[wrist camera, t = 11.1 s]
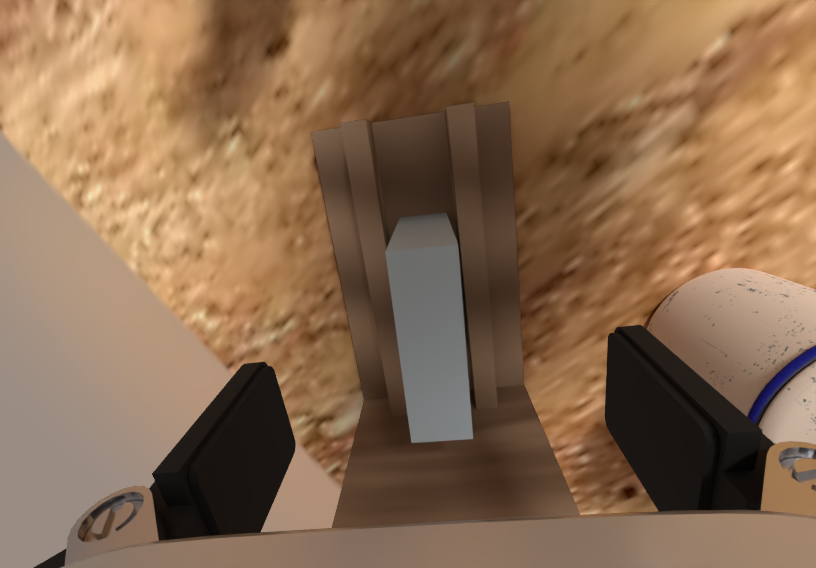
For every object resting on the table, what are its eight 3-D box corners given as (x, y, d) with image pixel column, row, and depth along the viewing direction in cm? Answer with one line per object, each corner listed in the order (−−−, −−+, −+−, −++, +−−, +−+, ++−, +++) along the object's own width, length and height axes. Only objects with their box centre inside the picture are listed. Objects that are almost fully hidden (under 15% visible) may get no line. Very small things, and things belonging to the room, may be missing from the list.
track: (316, 133, 21) (223, 112, 11) (505, 104, 20) (577, 56, 10) (371, 416, 26) (340, 563, 17) (521, 402, 25) (579, 549, 16)
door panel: (399, 217, 21) (385, 252, 13) (446, 212, 21) (458, 244, 13) (416, 350, 23) (411, 442, 16) (457, 346, 23) (473, 438, 16)
